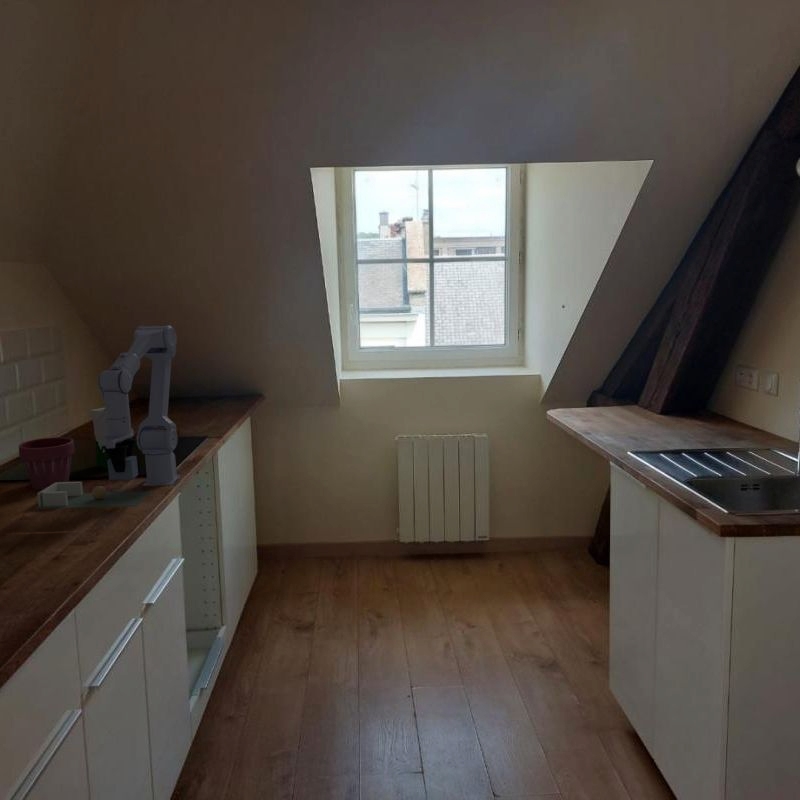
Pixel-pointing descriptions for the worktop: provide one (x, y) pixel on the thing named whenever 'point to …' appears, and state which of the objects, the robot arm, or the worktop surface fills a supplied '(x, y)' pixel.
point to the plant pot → (47, 460)
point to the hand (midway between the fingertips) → (123, 469)
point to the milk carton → (100, 436)
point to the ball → (99, 492)
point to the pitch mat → (103, 500)
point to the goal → (59, 493)
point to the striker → (130, 469)
